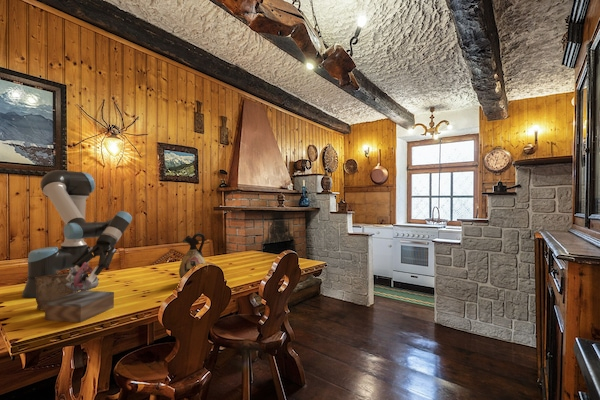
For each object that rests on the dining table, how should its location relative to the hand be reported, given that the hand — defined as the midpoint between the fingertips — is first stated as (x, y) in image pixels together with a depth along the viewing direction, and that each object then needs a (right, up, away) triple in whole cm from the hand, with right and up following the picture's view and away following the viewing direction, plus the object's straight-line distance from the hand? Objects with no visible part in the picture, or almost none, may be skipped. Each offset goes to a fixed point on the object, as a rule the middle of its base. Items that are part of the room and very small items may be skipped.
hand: (78, 280), depth 122 cm
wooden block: (0, -14, +1) cm, 14 cm away
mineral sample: (-16, -15, +9) cm, 24 cm away
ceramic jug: (+30, -16, +50) cm, 61 cm away
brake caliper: (0, -4, +2) cm, 5 cm away
